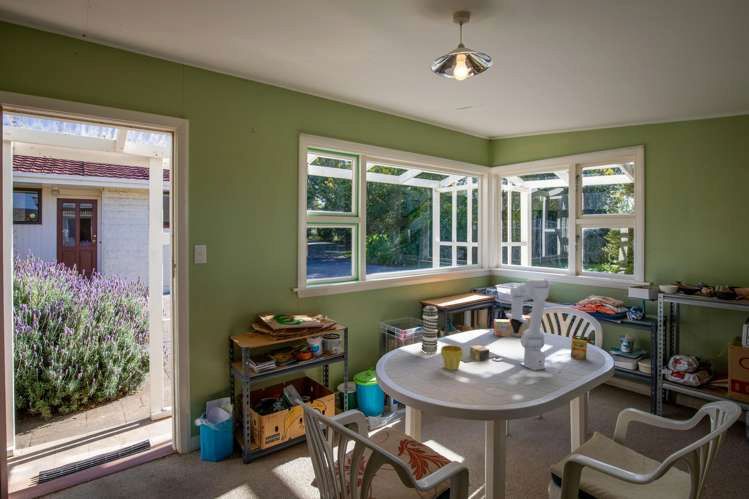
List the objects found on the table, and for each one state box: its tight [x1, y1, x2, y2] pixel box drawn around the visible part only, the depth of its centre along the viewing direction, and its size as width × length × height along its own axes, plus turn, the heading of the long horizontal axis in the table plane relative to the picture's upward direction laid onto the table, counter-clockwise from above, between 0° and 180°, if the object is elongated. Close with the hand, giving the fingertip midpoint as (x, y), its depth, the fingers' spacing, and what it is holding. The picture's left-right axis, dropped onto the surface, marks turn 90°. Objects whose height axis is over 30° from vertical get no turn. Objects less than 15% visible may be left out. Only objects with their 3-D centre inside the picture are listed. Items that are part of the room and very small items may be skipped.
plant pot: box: [440, 344, 463, 371], centre depth 206 cm, size 10×10×10 cm
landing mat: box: [460, 347, 500, 364], centre depth 226 cm, size 18×22×1 cm
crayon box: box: [570, 334, 588, 361], centre depth 221 cm, size 7×3×12 cm, turn 62°
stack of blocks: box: [493, 314, 531, 338], centre depth 262 cm, size 21×6×12 cm, turn 87°
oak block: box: [470, 344, 490, 361], centre depth 220 cm, size 5×6×8 cm
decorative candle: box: [421, 305, 440, 354], centre depth 228 cm, size 9×9×25 cm
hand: (516, 333), depth 230 cm, fingers closed
